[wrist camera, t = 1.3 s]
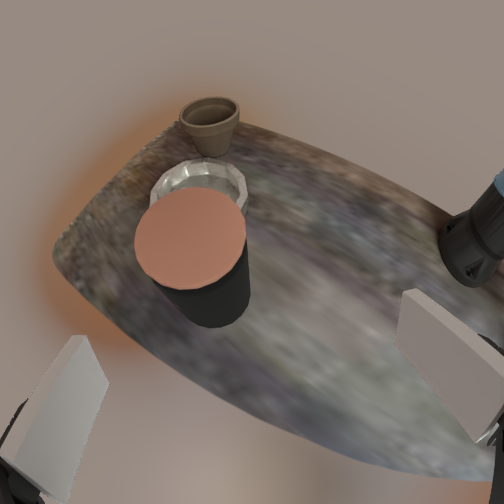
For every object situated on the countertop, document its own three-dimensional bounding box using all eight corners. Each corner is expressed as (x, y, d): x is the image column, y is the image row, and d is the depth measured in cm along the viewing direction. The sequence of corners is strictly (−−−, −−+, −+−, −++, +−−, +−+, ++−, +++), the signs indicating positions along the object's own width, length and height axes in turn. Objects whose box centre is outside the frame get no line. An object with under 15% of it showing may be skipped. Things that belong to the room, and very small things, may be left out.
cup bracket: (240, 167, 52) (239, 152, 48) (254, 239, 44) (253, 226, 41) (159, 180, 51) (153, 167, 47) (155, 254, 44) (147, 242, 40)
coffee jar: (185, 260, 43) (149, 186, 27) (253, 264, 42) (250, 187, 26) (175, 325, 38) (121, 281, 22) (248, 332, 38) (241, 292, 22)
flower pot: (212, 126, 59) (207, 90, 50) (252, 142, 55) (251, 104, 46) (177, 153, 54) (166, 117, 45) (216, 174, 51) (209, 134, 42)
